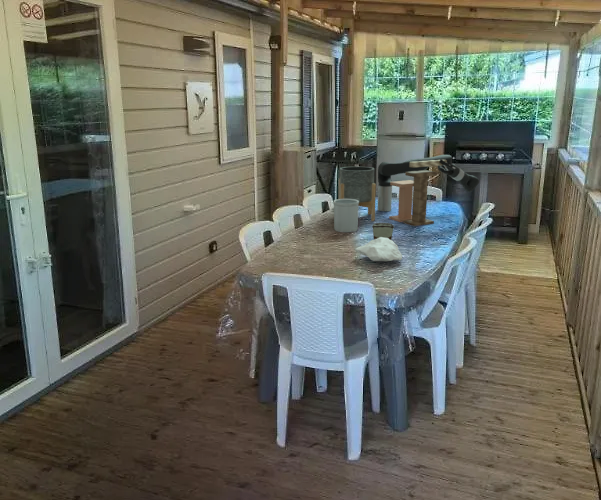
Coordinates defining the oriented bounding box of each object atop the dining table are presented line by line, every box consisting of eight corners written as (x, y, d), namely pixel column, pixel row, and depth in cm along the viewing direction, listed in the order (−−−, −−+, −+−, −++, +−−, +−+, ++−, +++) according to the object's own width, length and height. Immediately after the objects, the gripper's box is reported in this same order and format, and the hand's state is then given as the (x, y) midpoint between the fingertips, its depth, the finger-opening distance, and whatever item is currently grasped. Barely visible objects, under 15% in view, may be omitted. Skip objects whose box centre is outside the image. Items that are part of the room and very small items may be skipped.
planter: (375, 221, 351) (376, 170, 343) (340, 221, 352) (340, 171, 343) (371, 213, 373) (372, 166, 364) (338, 213, 373) (338, 166, 364)
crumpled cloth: (347, 264, 257) (351, 245, 254) (360, 244, 290) (363, 228, 287) (397, 275, 252) (401, 256, 249) (404, 254, 285) (407, 237, 282)
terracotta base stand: (408, 216, 364) (410, 180, 358) (420, 219, 354) (422, 182, 348) (388, 218, 357) (390, 181, 351) (400, 222, 347) (401, 184, 340)
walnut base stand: (423, 220, 351) (426, 170, 343) (433, 223, 343) (436, 172, 334) (403, 223, 344) (405, 172, 336) (413, 226, 336) (416, 173, 327)
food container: (393, 240, 304) (393, 222, 302) (394, 243, 298) (394, 225, 296) (370, 239, 306) (371, 222, 303) (371, 242, 300) (371, 224, 297)
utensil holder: (356, 233, 320) (357, 203, 316) (331, 232, 323) (331, 202, 319) (359, 227, 334) (360, 199, 330) (335, 226, 337) (335, 198, 333)
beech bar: (442, 164, 343) (442, 159, 343) (446, 164, 341) (446, 160, 340) (409, 166, 332) (409, 161, 331) (412, 167, 329) (413, 162, 328)
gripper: (460, 179, 342) (443, 167, 333) (445, 176, 354) (427, 164, 345) (465, 168, 342) (448, 155, 333) (450, 166, 354) (432, 153, 345)
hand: (437, 160), depth 339 cm, fingers closed on beech bar, 3 cm apart
